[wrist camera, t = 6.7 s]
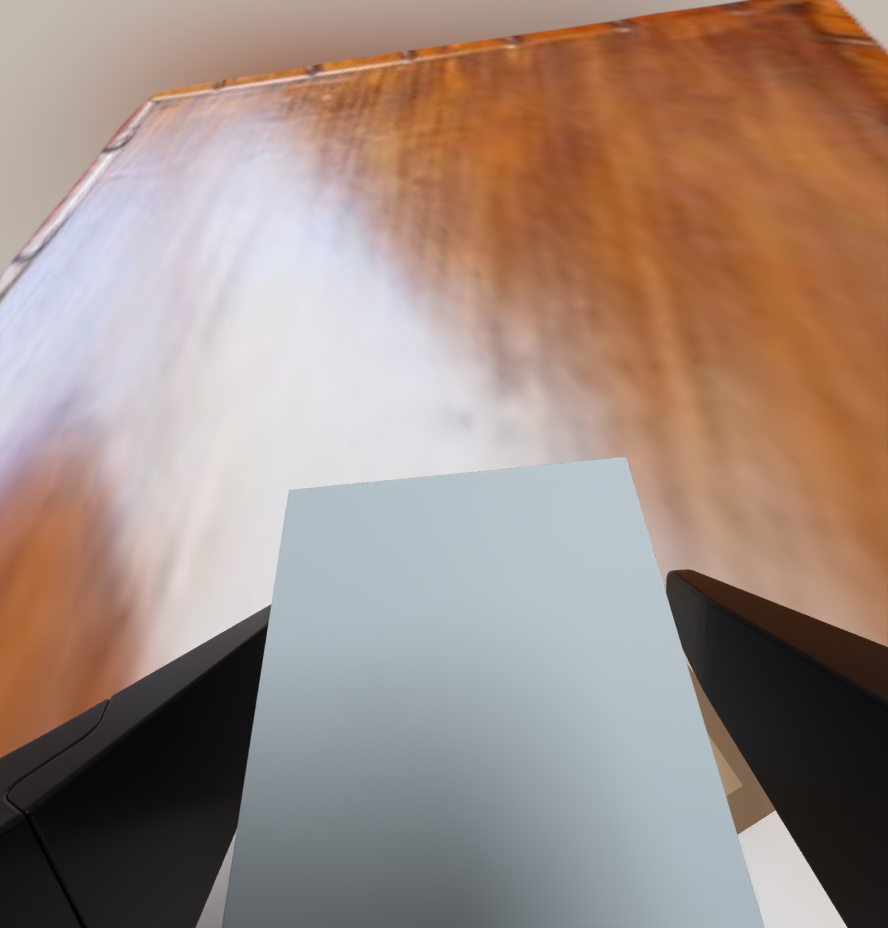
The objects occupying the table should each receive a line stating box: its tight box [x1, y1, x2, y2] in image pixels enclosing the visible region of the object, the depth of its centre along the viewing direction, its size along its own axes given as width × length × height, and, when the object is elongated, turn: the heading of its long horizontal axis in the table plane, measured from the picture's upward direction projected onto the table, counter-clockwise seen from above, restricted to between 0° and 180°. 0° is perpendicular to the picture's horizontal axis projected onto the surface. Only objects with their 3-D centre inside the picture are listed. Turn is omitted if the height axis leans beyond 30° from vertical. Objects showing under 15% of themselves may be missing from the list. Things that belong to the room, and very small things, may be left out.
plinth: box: [687, 665, 775, 835], centre depth 17 cm, size 14×14×4 cm
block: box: [222, 457, 765, 928], centre depth 10 cm, size 4×4×12 cm
